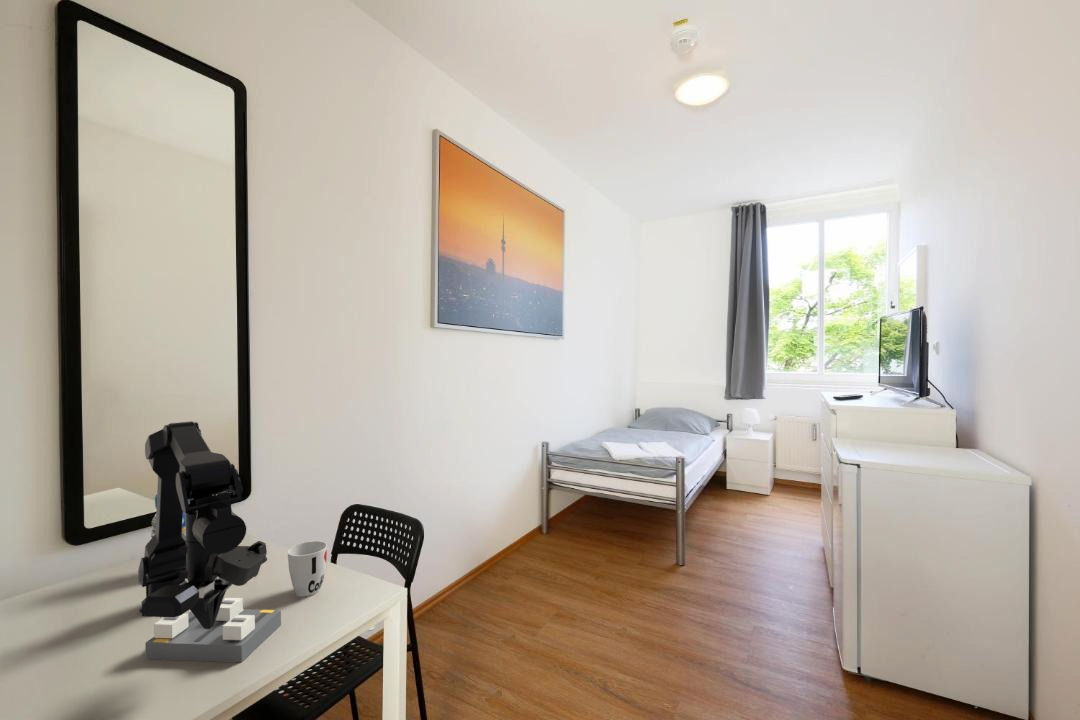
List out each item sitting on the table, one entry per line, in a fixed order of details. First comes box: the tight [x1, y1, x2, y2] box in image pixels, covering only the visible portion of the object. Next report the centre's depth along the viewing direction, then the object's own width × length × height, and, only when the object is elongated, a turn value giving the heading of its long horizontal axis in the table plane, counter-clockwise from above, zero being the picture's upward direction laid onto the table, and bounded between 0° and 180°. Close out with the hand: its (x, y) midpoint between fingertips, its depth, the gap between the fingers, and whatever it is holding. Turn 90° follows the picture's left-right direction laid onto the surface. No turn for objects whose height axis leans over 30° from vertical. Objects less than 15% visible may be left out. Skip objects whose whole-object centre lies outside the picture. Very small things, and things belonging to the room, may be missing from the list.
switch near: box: [153, 612, 189, 638], centre depth 83 cm, size 4×4×3 cm
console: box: [145, 608, 282, 663], centre depth 86 cm, size 18×11×3 cm, turn 87°
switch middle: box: [215, 597, 244, 621], centre depth 89 cm, size 4×4×3 cm
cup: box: [287, 540, 328, 598], centre depth 104 cm, size 8×8×10 cm
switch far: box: [223, 615, 255, 640], centre depth 83 cm, size 4×4×3 cm
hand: (208, 627), depth 76 cm, fingers closed
